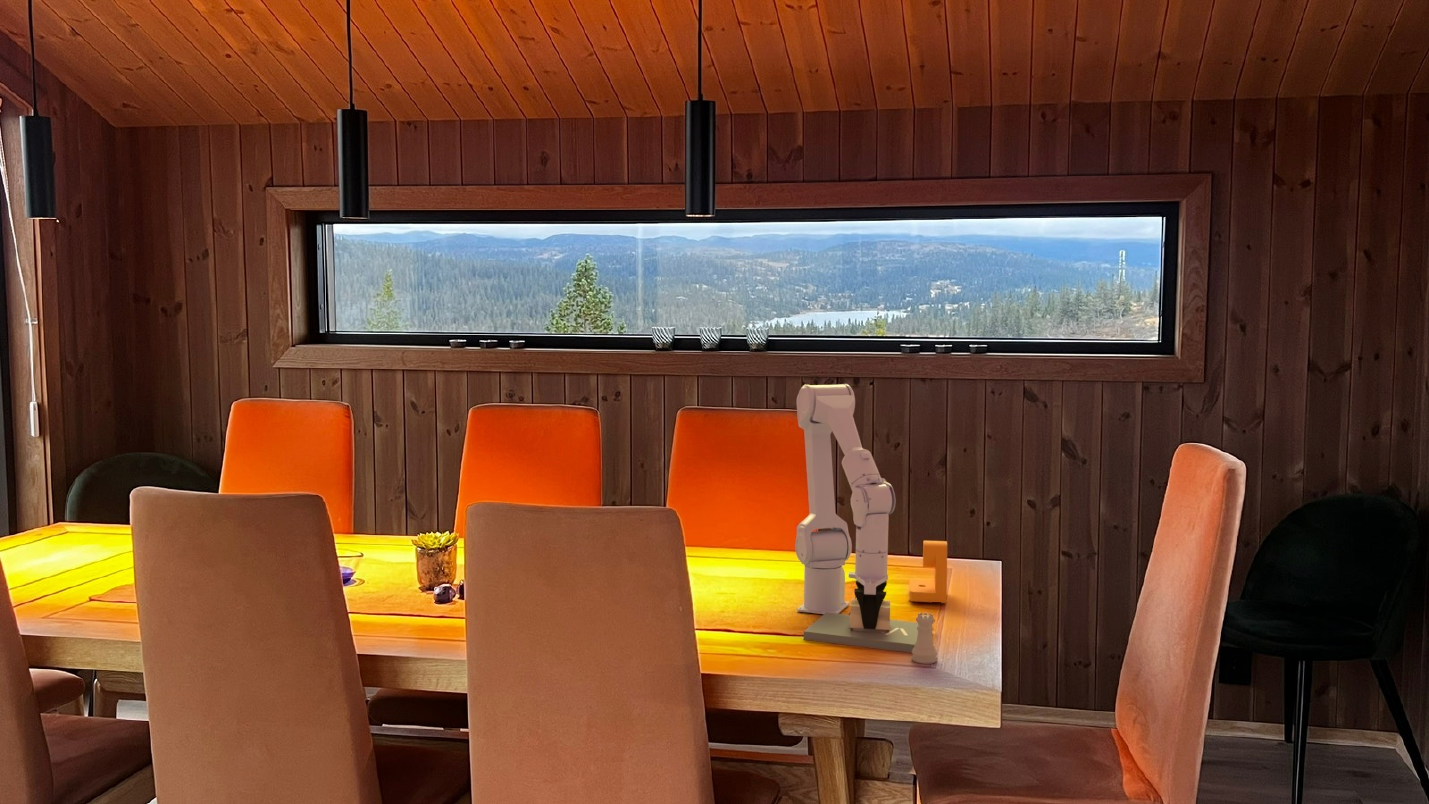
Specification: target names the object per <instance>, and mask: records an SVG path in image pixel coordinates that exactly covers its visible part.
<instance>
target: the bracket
mask: <svg viewBox="0 0 1429 804" xmlns="http://www.w3.org/2000/svg"><path fill="white" fill-rule="evenodd" d="M922 543H923V546H922V549H923V550H922V551H923V552H922V568H930V569H931V568H933V569H934V578H933V579H915V578H911V579H909V580H908V583H909V585H908V590H909V591H908V601H909V602H914V603H915V602H916V603H932V602H941V603H940V604H947V596H948V594H947V593H948V591H947V590H948V589H947V587H948V586H947V585H948V584H947V583H948V582H947V581H948V541H946V540H945V541H944V540H923V542H922Z"/></svg>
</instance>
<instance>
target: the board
mask: <svg viewBox="0 0 1429 804" xmlns="http://www.w3.org/2000/svg"><path fill="white" fill-rule="evenodd" d="M917 627H918V623H917V621H916V622H914V621H905V620H897V619H890V631H889V632H869V631H853V630H850V614H844V613H838V614H837V613H828V612H826V613H825V614H822V616H820V617H819V618H818V619H817V620H816V621H814V622H813V623H812V624H811V625H810V626H808V627H807V628H806V629H805V630H803V640H805V641H812V642H821V643H828V644H829V643H830V644H839V645H843V646H854V647H860V648H861V647H862V648H868V649H869V648H870V649H876V650H885V651H893V652H895V651H896V652H901V653H902V652H903V653H909V654H910V653H911V654H912V649H913V648H914V647H915V645H916V642H917V636H918V630H917Z"/></svg>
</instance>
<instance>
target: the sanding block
mask: <svg viewBox="0 0 1429 804" xmlns="http://www.w3.org/2000/svg"><path fill="white" fill-rule="evenodd" d="M849 612H850V613H849V615H850V630H853V631H869V632H889V631H890V620H891V600H885V599H884V600H883V602H882V604H881V607H880V610H879V615H878V621H877V625H876V628H875V629H864V627H863V623H862V617H861V610H860V606H859V603H858V600H857V598H851V600H850V610H849Z"/></svg>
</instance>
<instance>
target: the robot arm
mask: <svg viewBox="0 0 1429 804" xmlns="http://www.w3.org/2000/svg"><path fill="white" fill-rule="evenodd" d="M855 408H856V397H855V392H854V390H853V389H852V387H851V386H850V385H849V384H848V383H842V384H817V385H816V384H813V385H810V384H804V385H802V386H801V387H800V389H799V391H798V393H797V397H796V413H797V414H796V415H797V423H798V427H799V428H800V429H802V430H803V431H804V445H805V446H804V447H805V448H804V449H805V462H806V477H807V478H806V479H807V491H808V492H807V493H808V494H807V495H808V507H809V510H808V511H809V512H808V513H809V514H808V516H806V517H805V518H804V519H803V520H802V521H800V522H799V524H798V525H796V538H795V545H794V547H795V548H794V549H795V554H796V558H798V560H799V562H800V563H801V564H802V565H804V583H803V584H804V585H803V586H804V587H803V604H802V605H800V606H799V607H798V608H797V609H796V611H797V612H801V613H810V614H819V615H824V614H825V613H826V612H828V613H837V614H841V612H843V610H845V608H847V607H848V606H849V605H850V602H849V601H845V598H846V597H845V593H846V592H845V591H846V589H845V588H846V573H845V568H843V566H845V565H846V562H847V561H848V560H849V558H850V557H851V555H852V550H853V549H852V548H853V545H852V538H851V537H850V533H849V527H848V523H847V521H845V520H844V519H843V518H841V517H840V516H839V515H838V514H837V513H836V504H835V503H836V501H835V489H834V488H835V486H834V472H833V471H834V470H833V457H832V456H833V454H832V441H831V440H832V439H831V434H832V433H833V435H834V437H835V439H836V441H837V443H838V445H839V447H840V449H841V451H842V453H843V455H844V456H843V458H842V460H841V466H842V469H843V470H844V473H845V476H846V479H847V482H848V484H849V487H850V489H851V492H852V493H851V497H850V507H851V510H852V517H853V524H854V525H855V564H854V565H855V567H854V568H855V569H854V571H849V572H848V578H849V579H854V580H855V585H856V587H857V588H854V591H853V592H854V596H855V599H857V600H858V603H859V606H860V610H861V617H862V623H863V627H864V629H875V628H876V625H877V621H878V615H879V610H880V607H881V604H882V602H883V600H885V598H886V596H887V591H885V589H886V587H887V585H888V580H889V574H888V553H889V517H890V516H889V515H892V514H893V512H894V511H895V508H896V502H897V501H896V494H895V491H894V487H893V486H892V484H891V483H889V482H887V480H886V478H884V477H883V478H882V477H881V475H880V472H879V469H878V467H877V465H876V462H875V460H874V457H873V455H872V453H871V451H869V450H868V449H865V448H863V447H862V443H861V439H860V435H859V431H858V429H857V426H856V422H855V418H854V413H855ZM822 529H831V530H822ZM815 530H820V531H815Z"/></svg>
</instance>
